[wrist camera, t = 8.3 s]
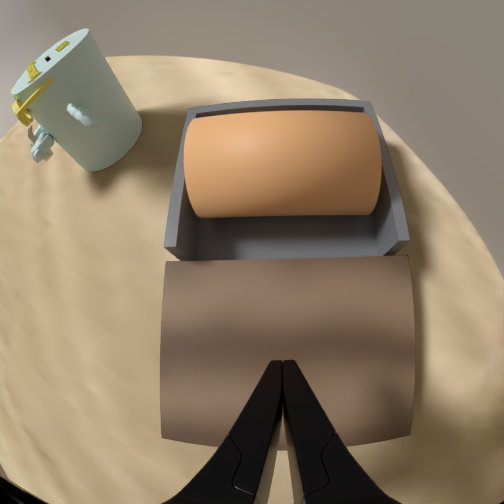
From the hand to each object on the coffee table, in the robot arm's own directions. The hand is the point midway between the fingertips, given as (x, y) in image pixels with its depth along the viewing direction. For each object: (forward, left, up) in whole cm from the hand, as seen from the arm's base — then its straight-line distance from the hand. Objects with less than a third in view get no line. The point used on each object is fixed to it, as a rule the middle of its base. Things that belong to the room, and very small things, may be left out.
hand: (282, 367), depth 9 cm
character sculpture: (+28, +5, -9) cm, 29 cm away
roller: (+10, -7, -5) cm, 13 cm away
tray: (+10, -7, -9) cm, 15 cm away
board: (0, 0, -9) cm, 9 cm away
